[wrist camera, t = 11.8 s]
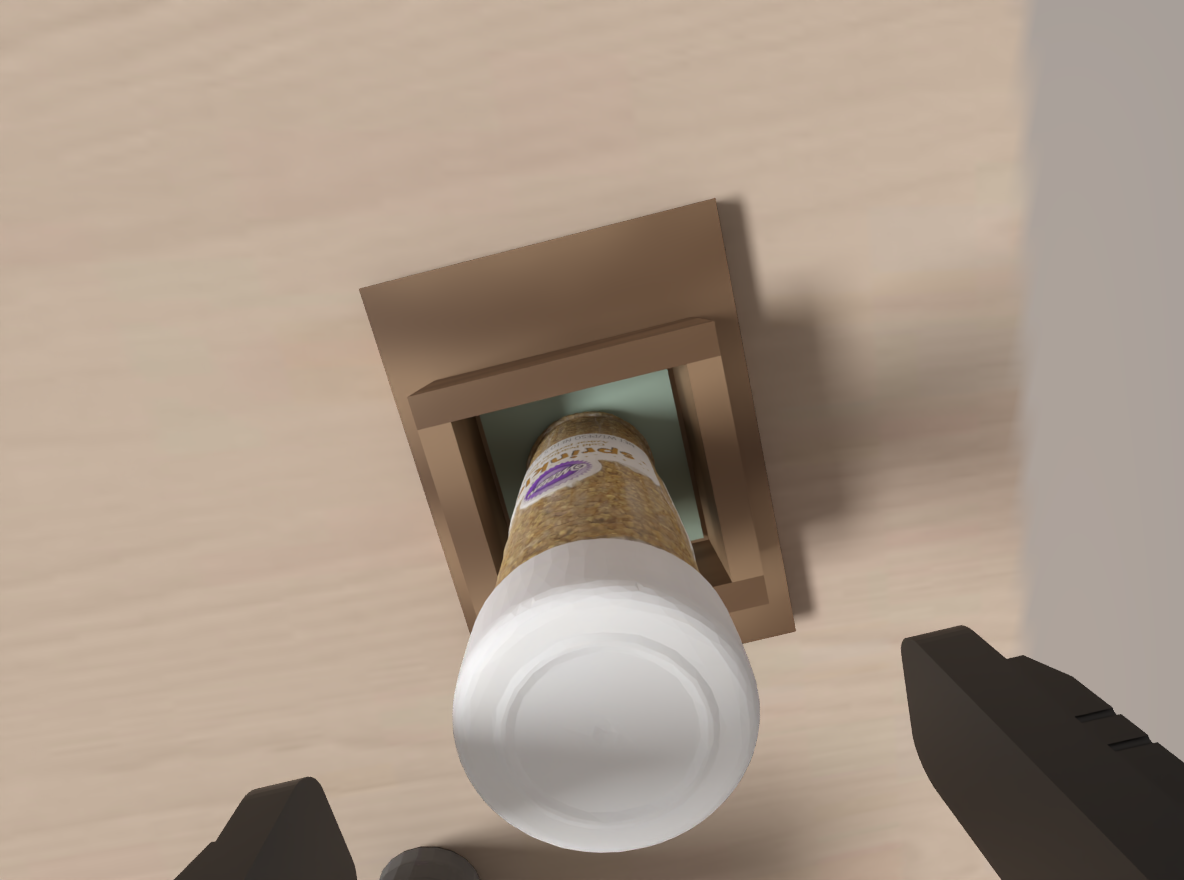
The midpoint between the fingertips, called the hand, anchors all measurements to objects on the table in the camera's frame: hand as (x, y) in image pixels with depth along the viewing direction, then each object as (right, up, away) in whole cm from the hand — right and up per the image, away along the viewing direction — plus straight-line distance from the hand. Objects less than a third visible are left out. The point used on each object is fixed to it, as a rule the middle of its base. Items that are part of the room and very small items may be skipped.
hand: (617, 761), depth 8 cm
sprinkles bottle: (0, +3, +14) cm, 14 cm away
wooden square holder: (0, +3, +15) cm, 15 cm away
